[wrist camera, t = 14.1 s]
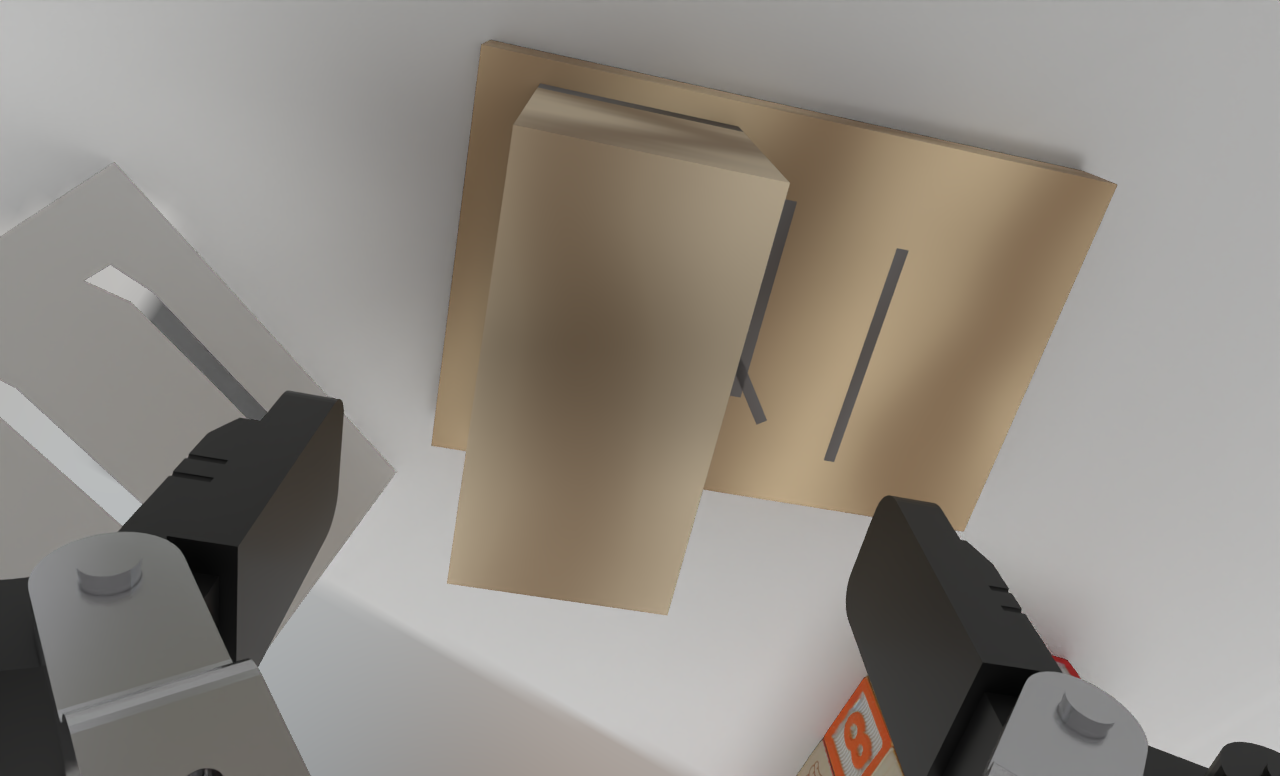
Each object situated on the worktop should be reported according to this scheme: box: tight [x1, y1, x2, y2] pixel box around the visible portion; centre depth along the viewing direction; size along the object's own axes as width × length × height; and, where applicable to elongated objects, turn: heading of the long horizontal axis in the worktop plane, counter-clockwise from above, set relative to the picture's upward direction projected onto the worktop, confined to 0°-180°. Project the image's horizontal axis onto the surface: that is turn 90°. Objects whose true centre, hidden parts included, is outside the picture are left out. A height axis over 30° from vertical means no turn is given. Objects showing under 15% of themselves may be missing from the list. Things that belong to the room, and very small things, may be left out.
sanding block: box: [447, 83, 790, 615], centre depth 18 cm, size 4×9×6 cm, turn 168°
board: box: [431, 40, 1117, 531], centre depth 22 cm, size 15×10×2 cm, turn 78°
